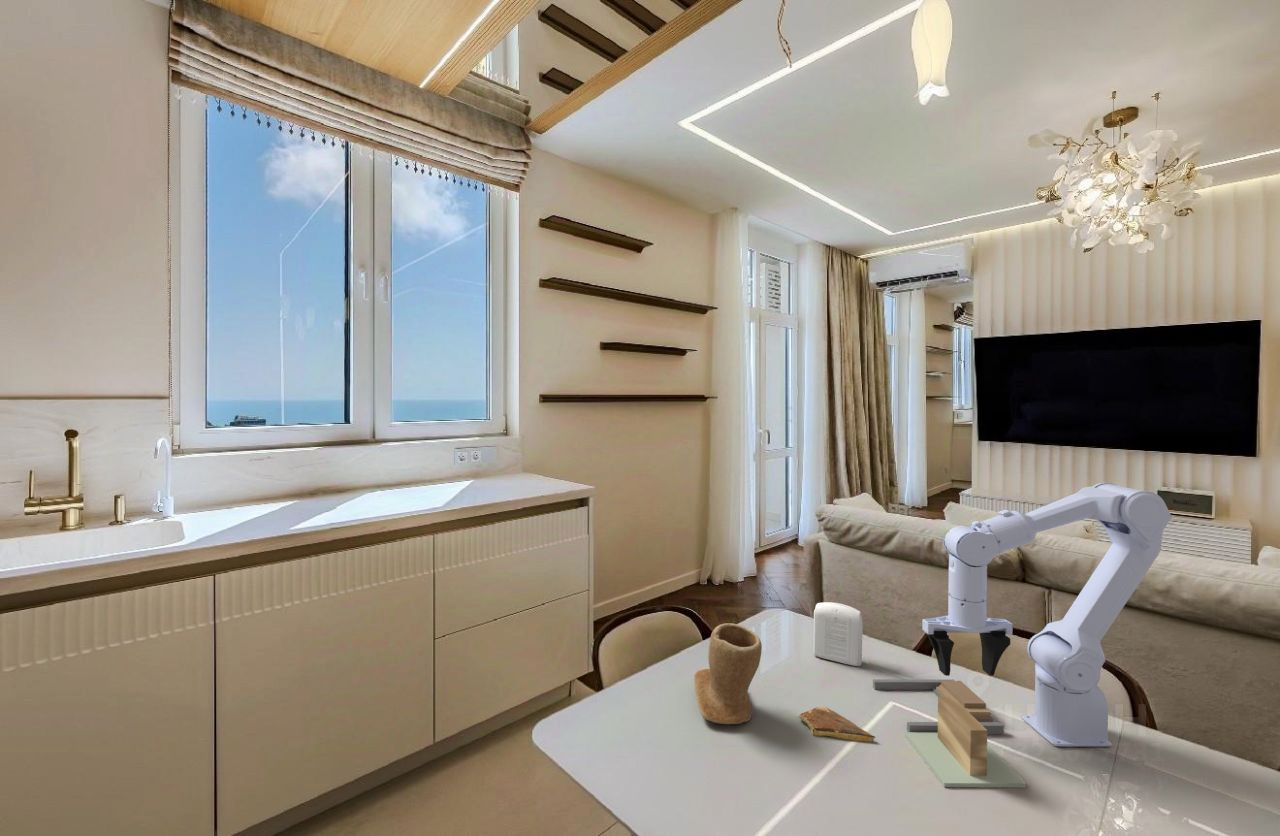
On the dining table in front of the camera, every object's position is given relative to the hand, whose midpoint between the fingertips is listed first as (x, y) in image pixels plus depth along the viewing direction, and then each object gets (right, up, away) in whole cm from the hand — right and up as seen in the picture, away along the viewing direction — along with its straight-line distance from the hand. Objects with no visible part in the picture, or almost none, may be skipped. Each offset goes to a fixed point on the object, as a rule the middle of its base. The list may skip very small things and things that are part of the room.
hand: (966, 672), depth 93 cm
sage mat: (-6, -10, -9) cm, 14 cm away
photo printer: (-14, -9, +25) cm, 29 cm away
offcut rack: (-3, -9, +5) cm, 11 cm away
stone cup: (-41, -10, +7) cm, 43 cm away
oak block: (-6, -9, -8) cm, 14 cm away
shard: (-23, -10, +1) cm, 25 cm away
